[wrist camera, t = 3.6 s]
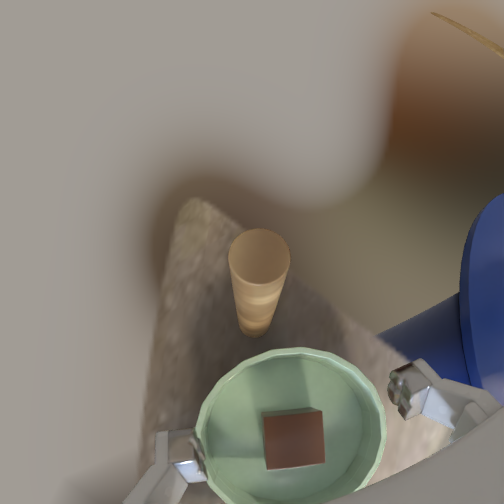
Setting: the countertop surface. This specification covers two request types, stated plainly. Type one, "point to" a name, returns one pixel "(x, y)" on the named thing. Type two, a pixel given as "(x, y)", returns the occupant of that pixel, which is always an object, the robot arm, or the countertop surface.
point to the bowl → (284, 398)
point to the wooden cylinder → (257, 277)
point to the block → (293, 438)
